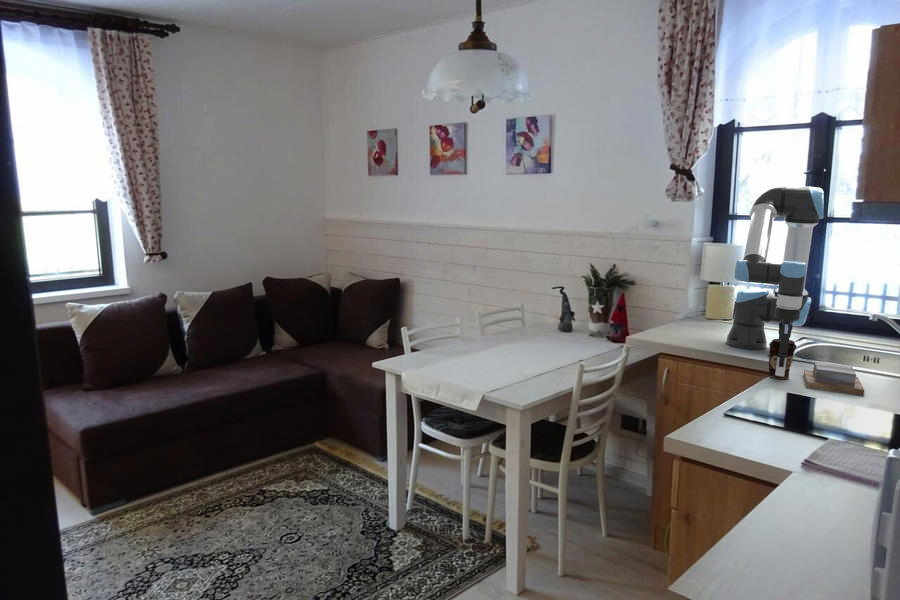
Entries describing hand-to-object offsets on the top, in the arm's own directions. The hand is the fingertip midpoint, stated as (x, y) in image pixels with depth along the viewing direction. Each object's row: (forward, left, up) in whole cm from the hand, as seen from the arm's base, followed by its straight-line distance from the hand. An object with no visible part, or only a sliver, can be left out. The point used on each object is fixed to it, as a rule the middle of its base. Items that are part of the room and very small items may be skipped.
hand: (779, 372), depth 222 cm
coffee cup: (0, 0, -2) cm, 2 cm away
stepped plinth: (0, +16, -2) cm, 16 cm away
